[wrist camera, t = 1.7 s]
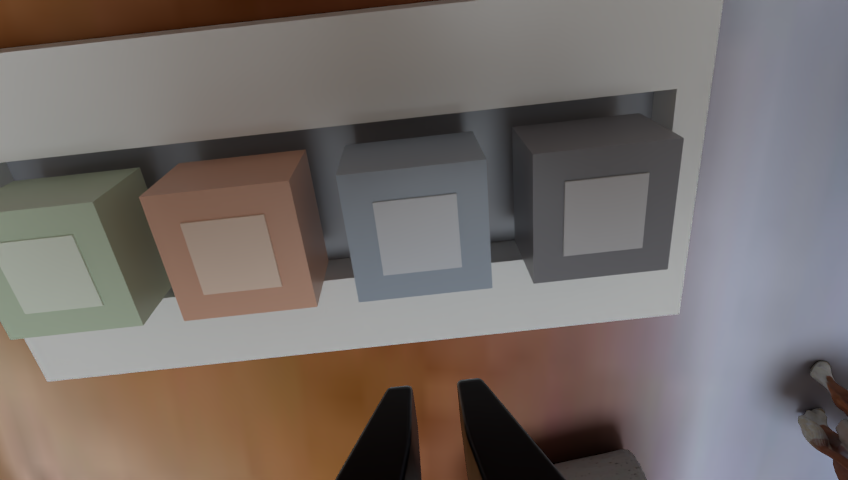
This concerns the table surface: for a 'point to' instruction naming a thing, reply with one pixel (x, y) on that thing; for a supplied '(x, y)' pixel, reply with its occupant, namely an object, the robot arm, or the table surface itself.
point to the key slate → (416, 216)
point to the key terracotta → (239, 234)
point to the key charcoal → (594, 196)
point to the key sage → (77, 255)
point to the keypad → (353, 124)
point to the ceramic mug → (603, 467)
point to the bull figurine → (841, 446)
